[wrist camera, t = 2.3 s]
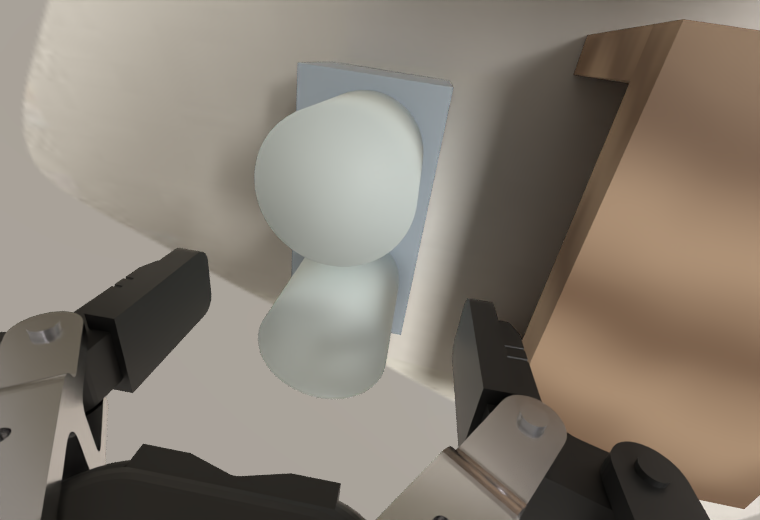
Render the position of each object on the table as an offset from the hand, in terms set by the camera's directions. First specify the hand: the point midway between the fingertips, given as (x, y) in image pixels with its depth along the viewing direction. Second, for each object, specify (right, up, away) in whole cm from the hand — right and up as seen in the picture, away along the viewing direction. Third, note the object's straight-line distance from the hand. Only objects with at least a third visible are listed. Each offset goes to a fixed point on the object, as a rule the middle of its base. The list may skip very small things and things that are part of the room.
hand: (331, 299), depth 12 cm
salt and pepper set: (+1, +5, +9) cm, 10 cm away
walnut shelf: (+15, +2, +8) cm, 17 cm away
